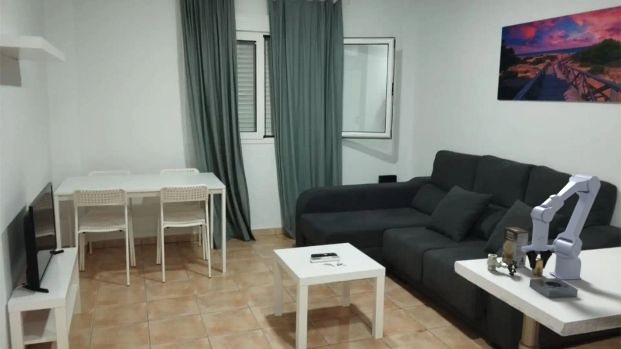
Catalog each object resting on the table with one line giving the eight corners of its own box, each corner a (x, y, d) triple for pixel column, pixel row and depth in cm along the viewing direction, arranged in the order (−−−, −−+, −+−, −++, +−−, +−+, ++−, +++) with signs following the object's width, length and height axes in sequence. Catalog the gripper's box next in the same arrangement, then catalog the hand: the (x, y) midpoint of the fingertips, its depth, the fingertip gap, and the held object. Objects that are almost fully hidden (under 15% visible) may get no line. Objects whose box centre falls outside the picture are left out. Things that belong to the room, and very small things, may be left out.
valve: (483, 270, 220) (510, 277, 211) (484, 255, 219) (511, 262, 210) (490, 267, 224) (517, 274, 216) (491, 252, 223) (518, 259, 215)
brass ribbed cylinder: (538, 271, 210) (539, 257, 209) (544, 274, 206) (545, 260, 205) (529, 271, 209) (530, 257, 208) (535, 275, 205) (536, 261, 205)
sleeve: (538, 273, 217) (539, 264, 216) (544, 276, 214) (545, 267, 213) (531, 273, 216) (532, 264, 216) (536, 276, 213) (537, 267, 212)
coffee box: (500, 261, 233) (503, 227, 230) (512, 260, 234) (515, 226, 232) (514, 267, 224) (517, 232, 221) (526, 266, 226) (529, 231, 223)
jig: (556, 285, 203) (557, 278, 203) (577, 296, 192) (577, 289, 191) (529, 286, 201) (530, 279, 201) (548, 298, 189) (549, 290, 189)
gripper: (529, 239, 200) (527, 272, 202) (562, 238, 203) (559, 270, 205) (519, 234, 207) (516, 266, 209) (551, 233, 210) (548, 264, 212)
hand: (537, 268), depth 207 cm, fingers closed on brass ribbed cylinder, 4 cm apart
